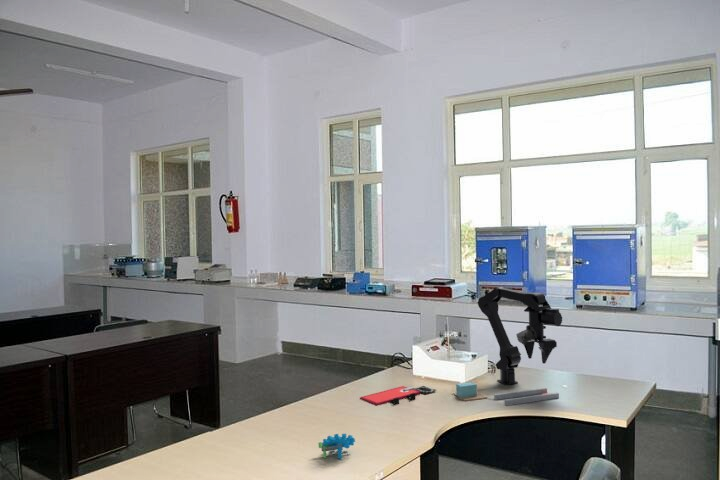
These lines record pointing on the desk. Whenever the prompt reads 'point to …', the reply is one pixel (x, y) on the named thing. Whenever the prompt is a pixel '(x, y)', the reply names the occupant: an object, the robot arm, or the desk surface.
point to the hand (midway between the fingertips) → (536, 360)
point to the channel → (542, 391)
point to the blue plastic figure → (336, 444)
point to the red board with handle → (395, 395)
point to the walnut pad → (472, 397)
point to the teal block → (466, 389)
